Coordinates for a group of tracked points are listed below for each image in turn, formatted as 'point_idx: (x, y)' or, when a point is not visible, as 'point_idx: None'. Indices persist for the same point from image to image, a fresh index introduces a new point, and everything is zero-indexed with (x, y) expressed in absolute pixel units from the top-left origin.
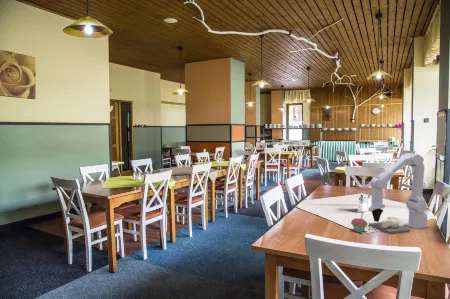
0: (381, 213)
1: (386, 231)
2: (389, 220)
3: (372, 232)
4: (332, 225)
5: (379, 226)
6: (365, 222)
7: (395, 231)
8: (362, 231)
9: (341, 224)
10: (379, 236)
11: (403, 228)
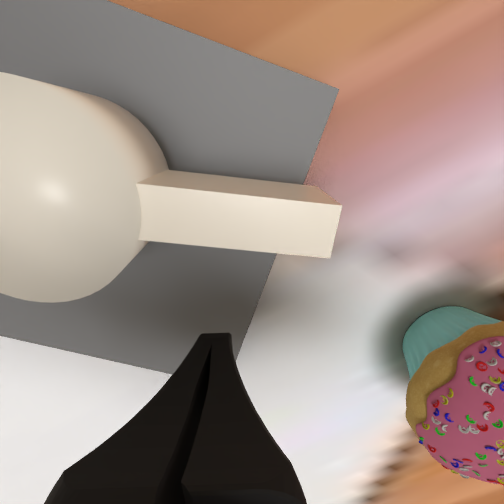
0: (130, 425)
1: (314, 146)
2: (183, 190)
3: (401, 248)
4: (442, 486)
5: (230, 281)
6: None
7: (236, 53)
8: (464, 308)
9: (370, 473)
10: (496, 127)
11: (8, 39)
